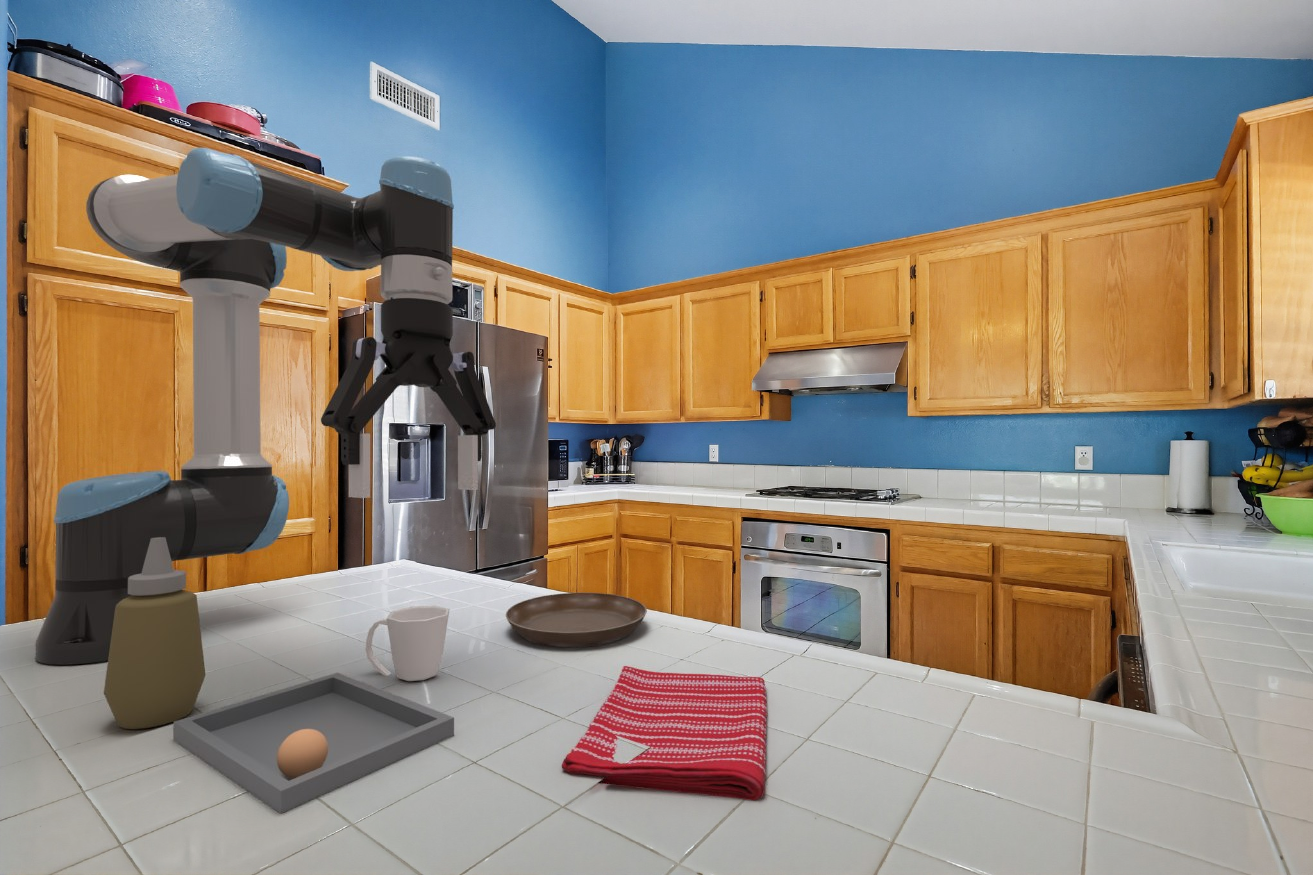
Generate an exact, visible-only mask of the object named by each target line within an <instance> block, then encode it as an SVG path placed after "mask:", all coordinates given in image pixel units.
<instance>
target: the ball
mask: <svg viewBox="0 0 1313 875" xmlns="http://www.w3.org/2000/svg"><path fill="white" fill-rule="evenodd" d="M327 754H328V743H327V740H326V738H325V737H324V735H323V734H322V733H320V732H319V731H317V730H314V729H302V730H299V731H296V732H294V733H292V734H291V735H290V736H288V737H287V738H286V739H285V740H284V741H283V743H282V744H281V746H280V748H279V750H278V754H277V764H278V768H279V770H280V771H281V772H282V773H283V774H284V775H285V776H287V777H289V778H293V779H294V778H297V777H299V776H302V775H304V774H306V773H309V772H311V771H314V770H316V769H318V768H320V767H321V766H322V765H323V763H324V762H325V760H326V757H327Z"/></svg>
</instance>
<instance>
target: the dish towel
mask: <svg viewBox="0 0 1313 875" xmlns="http://www.w3.org/2000/svg"><path fill="white" fill-rule="evenodd" d="M765 683H766V681H765V679H764V678H763V677H758V676H737V675H735V676H734V675H725V674H710V673H709V674H705V673H679V672H659V671H650V670H644V669H639V668H637V667H633V666H627V665H623V666H622V668H621V671H620V673H619V677H618V679H617V681H616V683H615V684H614V685H615V686H614V688H613V689H612V690H611V692H610V693H609V695H608V696H607V698H606V699H605V700H604V701H603V703H602V705H601V706H600V709H599V710H598V711H597V712H596V714H595V716H593V719H591V722H590V723H589V726H588V729H587V731H586V732H585V733H584V735H583V736H581V737H580V739H579V741H578V743H576V745H575V746H574V747H573V748H571V750H570V752H569V753H567V754H566V755H565V758H564V759H563V761H562V763H561V769H562V770H564V771H566V772H568V773H571V774H586V775H589V776H603V778H602V779H601V780H599V781H598V782H597V784H600V785H610V786H619V787H627V788H639V789H646V790H647V789H648V790H657V791H665V792H677V793H683V794H696V795H697V794H698V795H704V796H713V797H714V796H715V797H727V798H733V799H741V800H745V801H746V800H748V801H756V800H758V799H760V798H762V797H763V795H764V793H765V789H766V788H765V778H766V764H767V759H766V756H767V755H766V754H767V751H766V750H767V745H766V744H767V743H766V741H767V740H766V739H767V723H768V722H767V717H768V716H767V715H768V705H767V702H768V699H767V694H766V693H767V688H766V684H765ZM618 737H619V738H623V739H625V740H629V741H632V742H635V743H638V744H641V745H643V746H646V747H648V748H646V749H645V750H644V751H642V752H641V753H639V754H638V755H637V756H635V757H633V758H632V759H631V760H629V761H628V762H622V763H620V762H619V760H616V759H614V758H615V757H614V755H616V753H617V752H616V749H618V748H619V747H618V746H619V744H618V743H615V742H617V741H618V739H619V738H618Z"/></svg>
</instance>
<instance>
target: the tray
mask: <svg viewBox="0 0 1313 875" xmlns="http://www.w3.org/2000/svg"><path fill="white" fill-rule="evenodd" d="M172 724H173V726H172V729H173V738H172V739H173V741H174V742H175V743H176V744H178V745H179V746H181V747H182V748H184V749H185V750H187V751H188V752H190V753H191V754H193V755H194V756H196V757H197V758H198V759H200V760H202V761H203V762H204V763H206V764H207V765H208V766H210V767H212V768H213V769H214V770H216V771H218V772H219V773H220V774H222V775H223V776H225V777H226V778H227V779H229V780H230V781H232V782H233V783H235V784H236V785H238V786H239V787H240V788H242V789H244V790H246V791H247V792H248V793H249V794H251V795H252V796H253V797H255V798H256V799H258V800H260V801H261V802H262V803H264V804H265V805H266V806H268V807H269V808H271V809H272V810H274V811H276V812H277V813H278V814H280V815H283V814H284V813H287V812H289V811H292V810H294V809H295V808H298V807H300V806H301V805H304V804H306V803H308V802H311V801H313V800H315V799H317V798H319V797H322V796H324V795H326V794H328V793H331V792H333V791H335V790H337V789H339V788H342V787H344V786H346V785H348V784H351V783H353V782H355V781H357V780H359V779H362V778H363V777H366V776H368V775H371V774H373V773H375V772H377V771H379V770H381V769H382V770H383V769H384V768H386V767H388V766H390V765H392V764H395V763H397V762H400V761H402V760H404V759H406V758H408V757H410V756H412V755H415V754H417V753H420V752H421V751H423V750H426V749H428V748H429V747H433V746H434V745H437V744H439V743H442V742H443V741H446V740H448V739H450V738H452V737H454V736H455V717H454V716H451V715H448V714H446V713H444V712H441V711H438V710H437V709H436V710H435V709H434V708H430V707H427V706H425V705H422V704H419V703H418V702H415V701H412V700H410V699H407V698H404V697H402V696H399V695H398V694H394V693H391V692H389V691H387V690H384V689H381V688H379V687H376V686H373V685H370V684H368V683H365V682H363V681H360V680H359V679H358V680H357V679H355V678H353V677H350V676H347V675H344V674H342V673H339V672H335V673H331V674H328V675H325V676H321V677H318V678H315V679H311V680H308V681H305V682H302V683H298V684H294V685H292V686H288V687H284V688H282V689H277V690H275V691H272V692H269V693H264V694H261V695H258V696H255V697H252V698H251V697H250V698H248V699H245V700H241V701H237V702H235V703H231V704H228V705H225V706H222V707H219V708H215V709H212V710H209V711H204V712H202V713H199V714H195V715H191V716H188V717H186V718H185V717H183V718H180V719H178V720H176V721H173V723H172ZM302 729H314V730H317V731H319V732H320V733H322V734H323V735H324V737H325V738H326V740H327V743H328V754H327V757H326V760H325V762H324V763H323V765H322V766H321V767H320V768H318V769H316V770H314V771H311V772H309V773H306V774H304V775H302V776H299V777H297V778H294V779H293V778H289V777H287V776H285V775H284V774H283V773H282V772H281V771H280V770H279V768H278V764H277V754H278V750H279V748H280V746H281V744H282V743H283V741H284V740H285V739H286V738H287V737H288V736H290V735H291V734H292V733H294V732H296V731H299V730H302Z"/></svg>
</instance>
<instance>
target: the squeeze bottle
mask: <svg viewBox="0 0 1313 875" xmlns="http://www.w3.org/2000/svg"><path fill="white" fill-rule="evenodd" d="M186 588H187V571H185V570H181V569H180V570H178V569H177V570H176V569H174V566H173V561H171V557H170V553H169V549H168V546H167V542H166V538H165V537H157V538H151V540H150V544H149V547H148V551H147V555H146V558H145V562H144V566H143V569H142V573H141V574H136V575H133V576H130V577H129V578H128V594H130V595H132V596H130V597H127V598H125V599H123V600H121V601H120V602H119V603H118V604H116V607H115V614H114V621H113V628H112V636H111V643H110V650H109V658H108V660H107V665H106V671H105V672H106V673H105V680H104V689H103V696H104V697H105V700H106V703H107V704H108V707H109V708H110V710H111V714H112V715H113V717H114V719H115V721H116V724H117V726H118V727H120V728H122V729H126V730H127V729H128V730H137V729H138V730H139V729H149V728H153V727H158V726H163V725H167V724H169V723H172V722H173V723H174V721H178V720H181V719H183V718H185V717H187V716H188V715H189V714H190V713H191V712H192V711H193V710H194V707H195V704H196V701H197V699H198V696H199V693H200V691H201V688H202V685H203V683H204V681H205V677H206V667H205V666H206V664H205V657H204V650H203V649H204V648H203V641H202V640H203V638H202V630H201V621H200V613H199V605H198V598H197V597H198V595H197V594H195V593H194V592H192V591H189V590H185V589H186Z"/></svg>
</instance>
